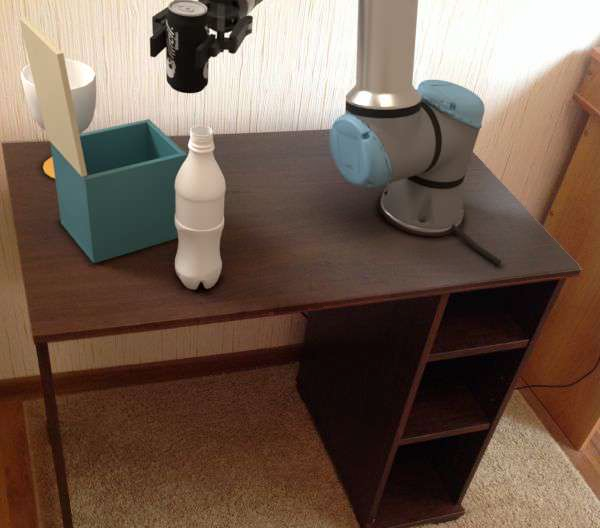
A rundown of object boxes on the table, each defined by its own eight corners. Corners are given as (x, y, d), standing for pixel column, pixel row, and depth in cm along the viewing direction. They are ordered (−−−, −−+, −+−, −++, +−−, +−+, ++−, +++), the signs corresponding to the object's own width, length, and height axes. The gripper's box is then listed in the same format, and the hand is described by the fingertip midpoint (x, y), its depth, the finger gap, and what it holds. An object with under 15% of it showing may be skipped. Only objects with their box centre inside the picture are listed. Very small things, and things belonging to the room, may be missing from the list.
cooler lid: (24, 15, 99) (18, 16, 99) (63, 52, 93) (57, 54, 93) (52, 136, 113) (46, 137, 112) (87, 175, 107) (81, 177, 106)
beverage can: (200, 98, 118) (202, 19, 110) (160, 89, 119) (159, 9, 110) (213, 81, 123) (215, 3, 114) (174, 73, 123) (174, -5, 115)
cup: (89, 191, 131) (80, 96, 118) (24, 178, 131) (8, 81, 119) (112, 158, 139) (105, 65, 126) (50, 145, 139) (38, 52, 127)
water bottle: (198, 260, 121) (201, 112, 103) (230, 281, 119) (240, 133, 100) (165, 278, 117) (162, 127, 99) (198, 300, 114) (201, 150, 96)
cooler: (151, 199, 131) (149, 118, 121) (186, 235, 125) (187, 154, 115) (61, 223, 124) (49, 139, 113) (93, 263, 118) (85, 179, 107)
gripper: (279, 38, 130) (235, 93, 114) (172, 13, 132) (115, 63, 116) (283, -8, 124) (238, 42, 109) (172, -34, 126) (112, 12, 111)
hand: (175, 53), depth 112 cm, fingers closed on beverage can, 6 cm apart
